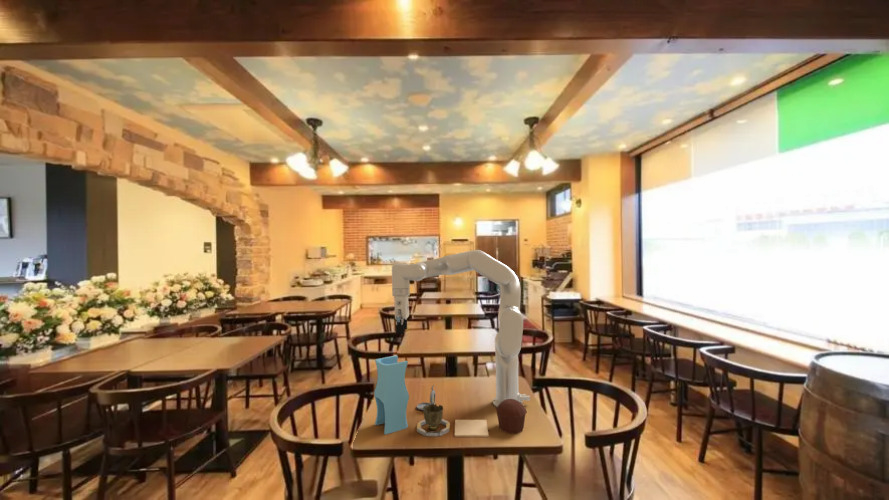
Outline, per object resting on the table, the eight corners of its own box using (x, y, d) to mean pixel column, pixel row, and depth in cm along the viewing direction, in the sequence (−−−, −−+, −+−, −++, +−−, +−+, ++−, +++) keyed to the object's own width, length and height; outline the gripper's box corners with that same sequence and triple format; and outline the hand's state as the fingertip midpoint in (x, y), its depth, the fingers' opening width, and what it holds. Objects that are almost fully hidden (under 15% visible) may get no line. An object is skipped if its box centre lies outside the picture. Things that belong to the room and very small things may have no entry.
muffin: (529, 435, 139) (529, 407, 139) (498, 435, 140) (498, 407, 139) (523, 420, 151) (523, 394, 151) (494, 420, 151) (494, 395, 151)
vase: (409, 427, 147) (408, 361, 147) (385, 434, 142) (383, 366, 141) (398, 417, 155) (396, 355, 155) (374, 424, 150) (373, 359, 150)
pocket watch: (414, 406, 166) (414, 383, 166) (433, 403, 169) (432, 380, 169) (421, 414, 159) (420, 389, 158) (440, 410, 162) (439, 386, 162)
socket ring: (450, 421, 152) (450, 418, 151) (449, 436, 140) (449, 433, 140) (419, 421, 152) (419, 418, 152) (415, 436, 140) (415, 432, 140)
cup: (447, 426, 147) (446, 405, 147) (436, 435, 141) (436, 413, 141) (430, 422, 151) (430, 401, 151) (419, 430, 145) (419, 408, 145)
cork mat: (486, 421, 151) (486, 419, 151) (488, 436, 139) (488, 435, 139) (455, 421, 151) (455, 419, 151) (454, 436, 139) (454, 434, 139)
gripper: (406, 294, 160) (407, 336, 160) (412, 289, 177) (412, 327, 178) (388, 294, 160) (389, 336, 161) (395, 289, 178) (396, 327, 178)
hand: (401, 331), depth 169 cm, fingers open, 9 cm apart
